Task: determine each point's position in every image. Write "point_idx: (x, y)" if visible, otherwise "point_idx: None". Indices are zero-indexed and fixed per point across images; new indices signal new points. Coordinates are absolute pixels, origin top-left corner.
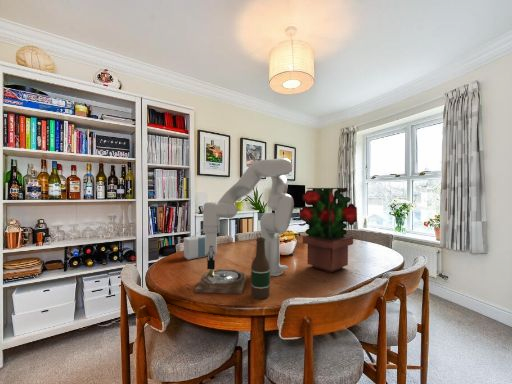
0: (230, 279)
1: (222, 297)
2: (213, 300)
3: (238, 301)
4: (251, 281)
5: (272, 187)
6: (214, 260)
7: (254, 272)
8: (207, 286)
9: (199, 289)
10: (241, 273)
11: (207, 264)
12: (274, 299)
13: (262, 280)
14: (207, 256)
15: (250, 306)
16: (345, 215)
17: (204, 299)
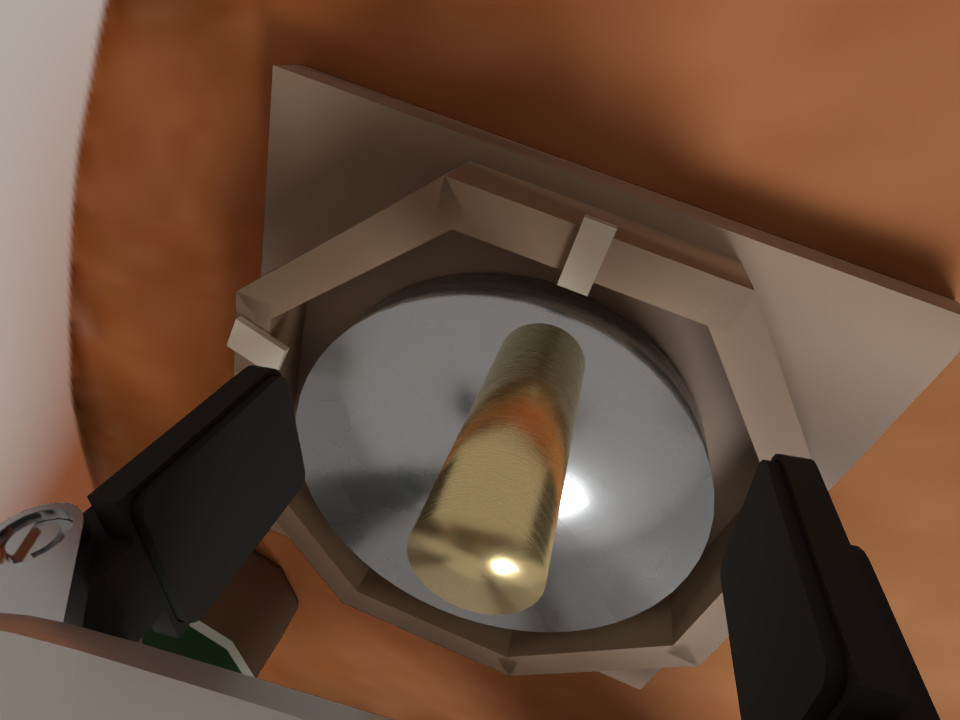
0: (354, 524)
1: (194, 350)
2: (130, 265)
3: (144, 439)
4: (150, 636)
5: None
6: (162, 618)
7: None
8: (311, 248)
9: (274, 131)
10: (517, 661)
11: (183, 422)
12: None
13: None
14: (835, 608)
15: (92, 478)
16: None
17: (136, 179)
